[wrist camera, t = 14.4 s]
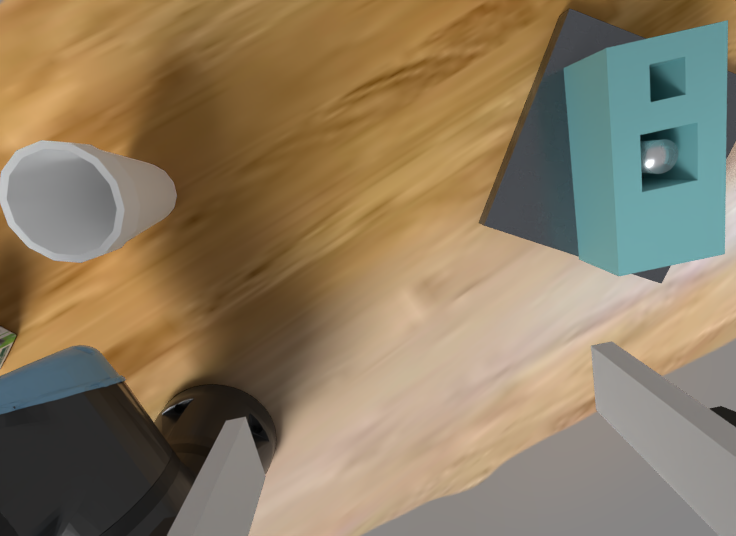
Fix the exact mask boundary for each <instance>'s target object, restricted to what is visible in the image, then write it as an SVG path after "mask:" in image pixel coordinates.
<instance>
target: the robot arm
mask: <svg viewBox="0 0 736 536" xmlns="http://www.w3.org/2000/svg"><path fill="white" fill-rule="evenodd" d="M591 351H592V364H593V376H594V389H595V402H596V410H597V411H598V412H599V413H600V414H601V415H602V416H603V417H604V418H605V420H606V421H608V423H609V424H610V425H611V426H612V427H613V428H614V429H615V430H616V431H617V432H618V433H619V434H620V435H621V436H622V437H623V438H624V439H625V440H626V441H627V442H628V443H629V444H630V445H631V446H632V447H633V448H634V449H635V450H636V451H637V452H638V453H639V454H640V455H641V456H642V457H643V458H644V459H645V461H646V462H647V463H649V465H650V466H651V467H652V468H653V469H654V470H655V471H656V472H657V473H658V474H659V475H660V476H661V477H662V478H663V479H664V480H665V481H666V482H667V483H668V484H669V485H670V486H671V487H672V488H673V489H674V490H675V491H676V492H677V493H678V494H679V495H680V496H681V497H682V498H683V499H684V500H685V501H686V503H688V505H689V506H691V508H692V509H693V510H694V511H695V512H696V513H697V514H698V515H699V516H700V517H701V518H702V519H703V520H704V521H705V522H706V523H707V524H708V525H709V526H710V527H711V528H712V529H713V530H714V531H715V532H716V533H717V534H718V535H719V536H736V412H735V411H732V410H729V409H727V408H724V407H722V406H720V407H715V408H710V409H709V408H707V407H705V406H704V405H703V404H701V403H700V402H698V401H697V400H695V399H694V398H693V397H691V396H690V395H688V394H687V393H685V392H684V391H683V390H681V389H680V388H678V387H677V386H675V385H674V384H672V383H671V382H670V381H668V380H667V379H665V378H664V377H662V376H661V375H659V374H658V373H657V372H655V371H654V370H652V369H651V368H649V367H648V366H646V365H645V364H644V363H642V362H641V361H639V360H638V359H636V358H635V357H633V356H632V355H631V354H629V353H628V352H626V351H625V350H623V349H622V348H620V347H619V346H618V345H616V344H615V343H613V342H607V343H602V344H597V345H592V346H591ZM125 380H126V379H125V377H123V376H121V375H119V374H118V373H117V372H116V371H115V370H114V368H113V367H112V366H111V365H110V363H109V362H108V361H107V360H106V359H105V357H104V356H103V355H102V354H101V353H100V352H99V351H98V350H97V349H95V348H93V347H90V346H85V345H78V346H72V347H69V348H66V349H64V350H61V351H59V352H56V353H54V354H51V355H49V356H46V357H44V358H42V359H39V360H37V361H35V362H32V363H30V364H28V365H25V366H23V367H21V368H18V369H16V370H14V371H11V372H9V373H7V374H4V375H2V376H0V536H248V534H249V531H250V528H251V524H252V521H253V517H254V514H255V511H256V507H257V504H258V501H259V497H260V494H261V490H262V487H263V484H264V480H265V477H266V476H265V474H266V473H267V471H268V469H269V467H270V464H271V462H272V458H273V455H274V452H275V447H276V431H275V427H274V424H273V421H272V419H271V417H270V415H269V414H268V412H267V411H266V409H265V408H264V407H263V406H262V405H261V404H260V403H259V402H258V401H257V400H256V399H254V398H253V397H252V396H250V395H248V394H247V393H245V392H243V391H241V390H238V389H235V388H232V387H228V386H223V385H202V386H197V387H193V388H190V389H188V390H185V391H183V392H181V393H180V394H178V395H177V396H175V397H174V398H173V399H172V400H171V401H170V402H169V403H168V404H167V405H166V406H165V408H164V409H163V410H162V411H161V413H160V414H159V415H158V417H157V418H156V420H155V422H153V421H152V419H151V418H150V417H149V415H148V414H147V412H146V411H145V409H144V408H143V407H142V405H141V404H140V402H139V401H138V400H137V398H136V397H135V395H134V394H133V393H132V391H131V390H130V388H129V387H128V385H127V384H126V383H125Z"/></svg>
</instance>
